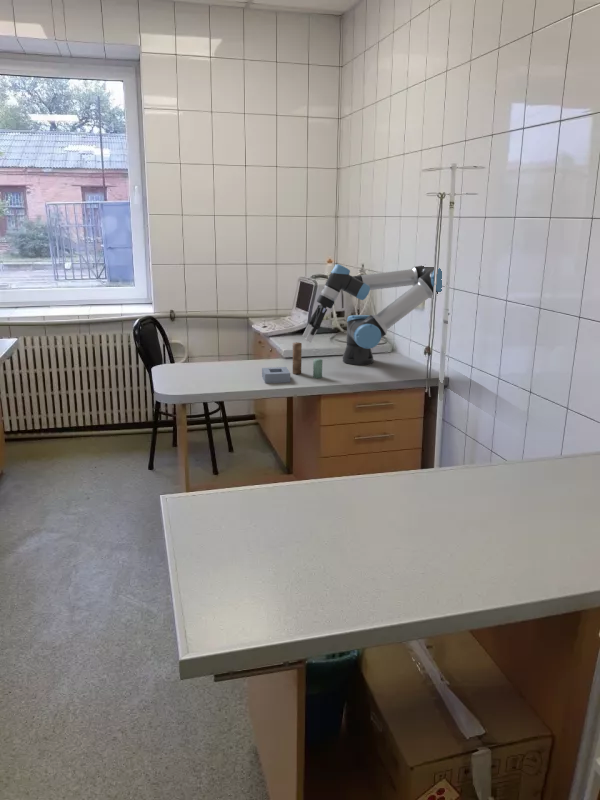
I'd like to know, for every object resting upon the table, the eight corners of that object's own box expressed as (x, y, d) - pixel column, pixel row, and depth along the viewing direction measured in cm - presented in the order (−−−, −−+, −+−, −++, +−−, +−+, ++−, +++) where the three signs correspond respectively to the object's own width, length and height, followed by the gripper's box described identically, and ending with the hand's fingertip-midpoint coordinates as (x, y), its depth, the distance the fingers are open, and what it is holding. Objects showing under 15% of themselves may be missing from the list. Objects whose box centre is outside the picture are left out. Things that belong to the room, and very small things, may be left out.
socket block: (286, 375, 280) (286, 366, 279) (290, 382, 270) (290, 373, 269) (262, 376, 278) (262, 367, 277) (265, 383, 268) (265, 374, 267)
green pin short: (321, 375, 280) (321, 358, 278) (322, 378, 277) (323, 360, 274) (312, 376, 280) (312, 358, 277) (314, 378, 276) (314, 361, 273)
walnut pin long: (300, 371, 286) (300, 342, 282) (302, 374, 283) (302, 344, 278) (291, 372, 286) (292, 342, 281) (293, 374, 282) (293, 344, 278)
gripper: (316, 292, 293) (296, 332, 296) (324, 295, 268) (302, 339, 272) (330, 299, 294) (310, 339, 297) (339, 303, 270) (317, 346, 273)
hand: (306, 339), depth 285 cm, fingers open, 13 cm apart
